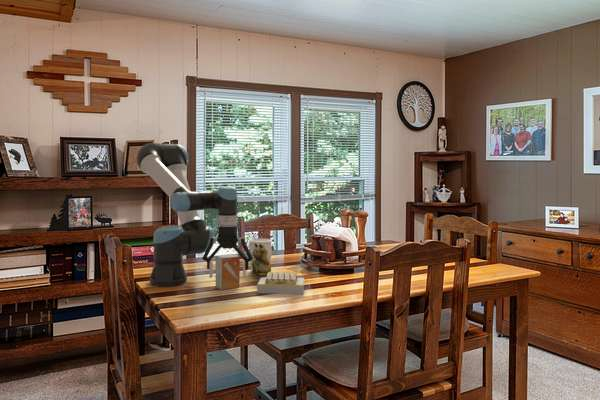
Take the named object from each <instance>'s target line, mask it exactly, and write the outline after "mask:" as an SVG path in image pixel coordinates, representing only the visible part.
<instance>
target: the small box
mask: <svg viewBox="0 0 600 400" xmlns="http://www.w3.org/2000/svg"><path fill="white" fill-rule="evenodd" d="M240 260H241V256H240V255H237V254H235V253H229V254H221V255H220V254H219V255H215V288H217V289H219V290H221V291H224V290H231V289H239V288H240V282H241V281H240V273H241V271H240V267H241V264H240V262H241V261H240Z"/></svg>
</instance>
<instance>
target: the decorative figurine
mask: <svg viewBox="0 0 600 400" xmlns="http://www.w3.org/2000/svg"><path fill="white" fill-rule="evenodd" d="M255 247H256V248H254V250H253V253H252V255H253V256H254V258H255V260H254V261H253V262H252V267H251V269H252V270H253V271H252V272H251V274H253V277H254V278H257V279H259V280H260V278H261V277H267V275H268V272H272V266H271V261H270V262H269V260H268V259H267V250H266V249H265V247H264V245H263V244H260V245H258V244H257V243H255Z"/></svg>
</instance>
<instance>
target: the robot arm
mask: <svg viewBox="0 0 600 400" xmlns="http://www.w3.org/2000/svg"><path fill="white" fill-rule="evenodd" d="M135 160H136V165H137V167H138V169H139V170H140V171H142V173H144V174H147V175H148V176H149V177H150V178H151V179H152V180H153V181H154V182H155V183H156V184H157V185H158V186H159V187H160V189H161V190H162V191H163V192H164V193H165V194H166V195H167V196H168V197H169V206H170V207H171V209H172V210H173V211H175V212H176V214H177V217H178V219H179V224H178V225H176V224H175V225H167V226H165V225H164V226H162V227H159V228H157V229H156V230H155V231H154V232H153V239H152V241H153V267H152V270H151V274H150V277H149V284H150V285H151V286H155V287H175V286H181V285H184V284H186V283H188V277H187V273H186V270H185V267H184V265H183V263H184V261H183V256H189V255H190V256H191V255H197V254H198V255H200V254H203V253H204V254H203V256H202V260H203V261H206V269H207V270H209V279H212V278H213V276H214V274H213V273H214V269H213V267H214V264H213V263H214V261H213V260H212V259H214V257H216V254H217V253H218V252H219V251H220V250H221V249H224V250H226V249H229V250H231V249H233V250H235V252H236V253H237V254H238V256H240V258H241V259H242V260H243V262H242V279H246V278H247V271H248V270H249V264H250V261H252V259H253V257H252V255H251V253H250V251H249V247H248V245H247V242H246V238H245V237H238V226H237V224H238V192H237V188H236V187H234V186H232V187H231V186H221V187H218V189H217V190H216V191H215V190H204V191H191V188H190V185H189V182H188V179H187V175H186V173H185V172H186V171H187V167H188V165H189V153H188V151H187V149H186V148H185V147H184V146H183V145H182V144H179V143H178V144H176V143H160V142H159V143H158V142H149V143H146V144H144V145H142V146H141V147H140V148H139V149H138V151H137V153H136V156H135ZM205 210H206V211H207V210H209V211H210V210H217V211H218V212H217V221H218V222H217V224H218V226H217V227H218V228H217V229H218V231H217V233H218V234H217V235H218V237H215V232H214V229H213V228H212V227H211V226H210V225H206V223H205V222H206V221H205V220H204V219H203V218H201V217H200V215H199V213H198V211H205ZM216 242H217V243H218V244H219V245H218V246H217V247H216V248H215V249H214V250H213V252H212V253H211V254H210V252H211V250H212V248H213V247H214V244H215V243H216ZM238 242H239V243H240V244H241V246H242V248H243V250H244V252H243V251H242V249H241V248H240V247H239V245H238V244H237V243H238ZM209 254H210V255H209ZM208 255H209V257H208Z"/></svg>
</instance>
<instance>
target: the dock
mask: <svg viewBox="0 0 600 400" xmlns="http://www.w3.org/2000/svg"><path fill="white" fill-rule="evenodd" d="M265 281H266V277H261V278H260V279H259V281H258V282H257V285H256V292H257V294H271V295H272V294H274V295H276V294H277V295H278V294H279V295H284V294H285V295H304V291H305V290H304V288H305V277H297V280H296V284H265Z"/></svg>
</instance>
